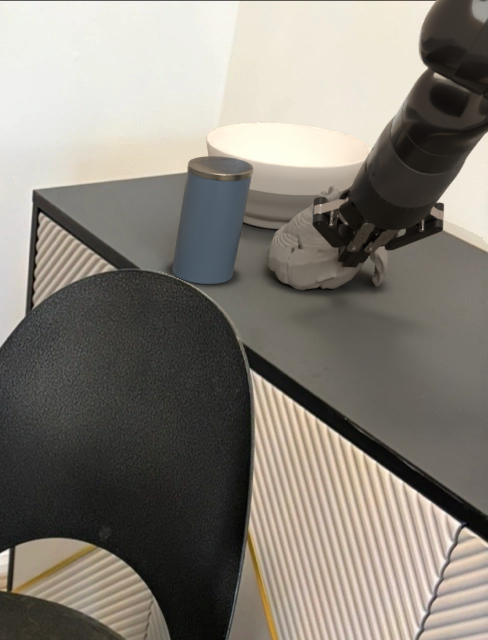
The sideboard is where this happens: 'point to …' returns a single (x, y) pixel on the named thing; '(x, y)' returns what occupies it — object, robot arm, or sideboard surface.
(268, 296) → the sideboard surface
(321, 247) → the grey clay mound
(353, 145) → the bowl
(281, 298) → the sideboard surface
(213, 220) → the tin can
